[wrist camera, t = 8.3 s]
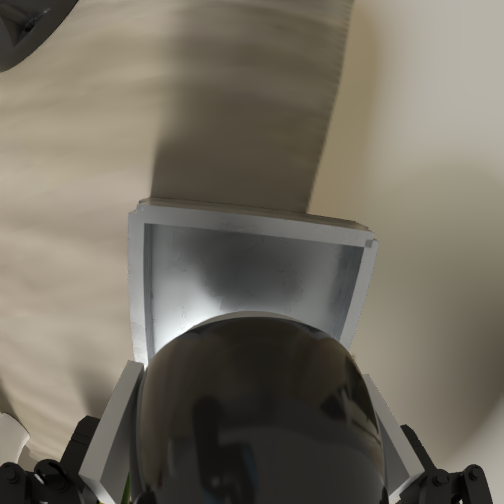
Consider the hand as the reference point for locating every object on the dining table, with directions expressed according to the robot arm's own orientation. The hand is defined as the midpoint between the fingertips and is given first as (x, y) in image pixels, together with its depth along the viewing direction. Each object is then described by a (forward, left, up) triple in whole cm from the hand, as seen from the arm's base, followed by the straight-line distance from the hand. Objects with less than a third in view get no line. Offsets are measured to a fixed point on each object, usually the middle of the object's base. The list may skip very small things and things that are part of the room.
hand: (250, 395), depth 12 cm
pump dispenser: (0, 0, -3) cm, 3 cm away
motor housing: (+2, 0, -10) cm, 10 cm away
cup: (+31, -37, -10) cm, 50 cm away
